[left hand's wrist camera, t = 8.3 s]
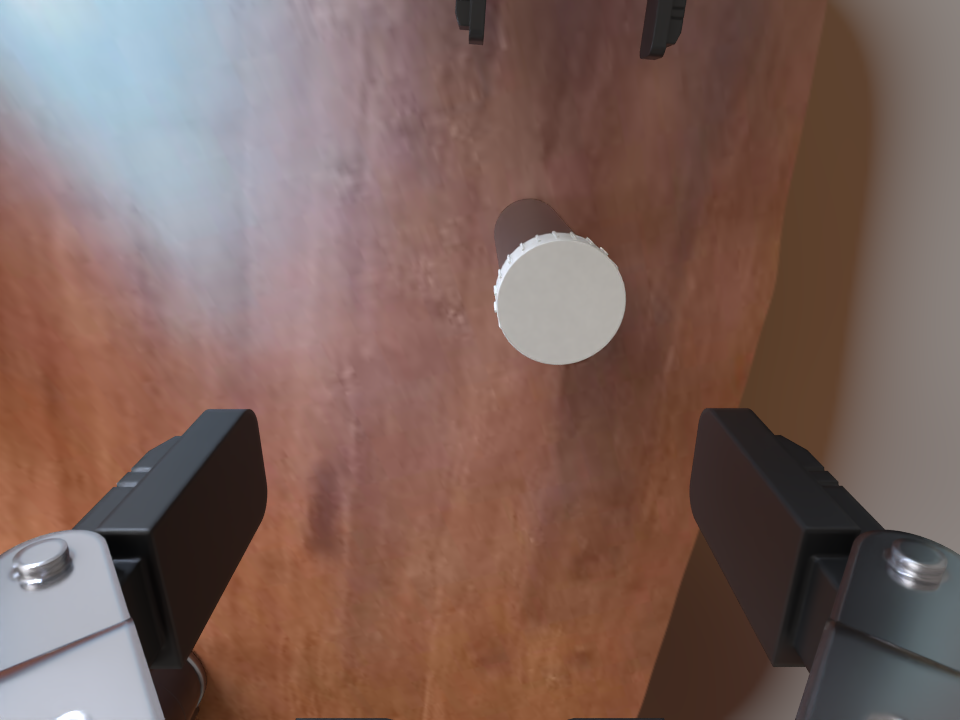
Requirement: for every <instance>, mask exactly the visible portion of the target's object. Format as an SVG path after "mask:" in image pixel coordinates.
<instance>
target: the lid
mask: <svg viewBox="0 0 960 720" xmlns="http://www.w3.org/2000/svg"><path fill="white" fill-rule="evenodd" d="M535 236H536V237H535V238H532V239H530V240H528V241H527V242H525V243H523V244H522V243H520V246H519V247H518V248H517V249H516V250H515V251H514V252H513V253H512V254H511V255H508V256H507V260H506V261H505V263H504V265H503V266H502V268H501V270H500V269H499V270H498V274H499V276H498V279H497V283H496V286H494V294H495V299H496V302H494V309H495V312H497V316H498V321H499V327H500V328H501V329H502V331H503V333H504V335H505V337H506V338H507V339H508V341H509V342H510V343H511V345H512V346H513V347H514V348H515V349H517V350H518V351H519V352H520V353H522V354H523V355H525V356H527V357H528V358H530V359H533V360H535V361H538V362H541V363H545V364H552V365H563V364H571V363H575V362H579V361H581V360H584V359H586V358H588V357H590V356H592V355H594V354H595V353H597V352H598V351H600V350H601V349H602V348H603V347H605V346H606V345H607V344H608V342H609V341H610V340H611V339H612V338H613V336H614V335H615V334H616V332H617V330H618V328H619V326H620V324H621V322H622V319H623V316H624V312H625V305H626V292H625V287H624V282H623V280H622V277H621V275H620V273H619V271H618V269H619V268H618V266H617V265H616V264H615V263H614V262H613V261H612V260H610V259H609V258H608V256H607V255H608V253H607V252H606V251H605V250H604V249H603V248H602V247H600V248H599V247H597V246H596V245H595V244H594V243H593V242H592V241H591V240H590V239H589V238H588V237H587V238H586V239H585V238H583V237H580V236H577V235H575V234H574V233H573V232H570V234H569V233H556V231H553V233H549V234H544V235H540V236H538V235H535Z"/></svg>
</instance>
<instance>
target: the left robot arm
mask: <svg viewBox="0 0 960 720" xmlns="http://www.w3.org/2000/svg"><path fill="white" fill-rule="evenodd" d="M266 503H267V482H266V475H265V469H264V462H263V455H262V448H261V441H260V435H259V428H258V422H257V418H256V415H255V413H254V412H253V411H252V410H251V409H208V410H206V411H204V412H203V413H202V415H201V416H200V417H199V418H198V419H197V420H196V421H195V422H194V423H193V424H192V425H191V426H190V427H189V428H188V430H187V431H186V432H185V433H184V434H183V435H182V436H175V437H173V438H171V439H170V440H168V441H166V442H164V443H162V444H161V445H159V446H157V447H155V448H154V449H152V450H150V451H148V452H147V453H146V454H145V455H144V457H143V458H142V459H141V460H140V461H139V462H138V463H137V464H136V465H135V466H134V467H133V468H132V471H131V472H128V473H127V474H126V475H125V476H124V477H123V478H122V479H121V480H120V481H119V482H118V483H117V487H113V488H112V489H111V490H110V491H109V492H108V493H107V494H106V495H105V496H104V497H103V498H102V499H101V500H100V501H99V502H98V503H97V504H96V505H95V506H94V507H93V508H92V509H91V510H90V511H89V512H88V513H87V514H86V515H85V516H84V517H83V518H82V519H81V520H80V521H79V522H78V523H77V524H76V526H75V527H74V528H73V529H72V530H66V531H59V532H54V533H49V534H46V535H42V536H39V537H36V538H33V539H31V540H28V541H26V542H23V543H21V544H19V545H17V546H15V547H13V548H11V549H9V550H7V551H6V552H4V553H3V554H1V555H0V720H195V718H196V716H197V714H198V712H199V707H198V704H199V703H200V701H201V699H202V697H203V695H204V692H205V689H206V674H205V671H204V668H203V666H202V664H201V663H200V661H199V660H198V658H197V657H196V656H195V655H194V654H193V653H192V652H191V651H192V650H193V648H194V646H195V644H196V642H197V640H198V638H199V637H200V635H201V633H202V631H203V629H204V627H205V625H206V624H207V622H208V620H209V618H210V616H211V614H212V612H213V611H214V609H215V607H216V605H217V603H218V601H219V599H220V598H221V596H222V594H223V592H224V590H225V588H226V586H227V585H228V583H229V581H230V579H231V577H232V575H233V573H234V572H235V570H236V568H237V566H238V564H239V562H240V560H241V559H242V557H243V555H244V553H245V551H246V549H247V547H248V546H249V544H250V542H251V540H252V538H253V536H254V534H255V532H256V531H257V529H258V527H259V525H260V523H261V521H262V519H263V516H264V513H265V509H266ZM690 504H691V509H692V513H693V516H694V519H695V521H696V523H697V524H698V526H699V528H700V530H701V532H702V534H703V536H704V538H705V540H706V541H707V543H708V545H709V547H710V549H711V551H712V553H713V555H714V556H715V558H716V560H717V562H718V564H719V566H720V568H721V569H722V572H723V573H724V575H725V577H726V579H727V581H728V583H729V585H730V587H731V588H732V590H733V592H734V594H735V596H736V598H737V600H738V602H739V604H740V605H741V607H742V609H743V611H744V613H745V615H746V617H747V618H748V620H749V622H750V624H751V626H752V628H753V630H754V632H755V634H756V636H757V637H758V639H759V641H760V643H761V645H762V647H763V649H764V651H765V652H766V654H767V656H768V658H769V660H770V662H771V664H772V666H773V667H806V668H807V670H808V671H809V673H810V675H809V678H808V681H807V684H806V687H805V690H804V693H803V696H802V700H801V703H800V706H799V709H798V712H797V715H796V719H795V720H960V555H959V554H957V553H956V552H954V551H953V550H951V549H949V548H947V547H945V546H943V545H941V544H939V543H937V542H934V541H932V540H929V539H927V538H924V537H921V536H918V535H914V534H910V533H906V532H901V531H894V530H885V529H884V528H883V527H882V526H881V525H880V524H879V523H878V522H877V521H876V520H875V519H874V518H873V517H872V516H871V515H870V514H869V513H868V512H867V511H866V510H865V509H864V508H863V507H862V506H861V505H860V504H859V503H858V502H857V501H856V500H855V499H854V498H853V497H852V495H851V494H850V493H849V492H848V491H847V490H846V489H845V488H844V487H843V486H839V485H838V481H837V480H836V479H835V478H834V477H833V476H832V475H831V474H830V473H829V472H828V471H824V467H823V466H822V465H821V464H820V463H819V462H818V461H817V460H816V459H815V458H814V457H813V456H812V455H811V453H810V452H809V451H808V450H806V449H804V448H803V447H801V446H799V445H797V444H795V443H794V442H792V441H790V440H788V439H787V438H785V437H783V436H781V435H774V434H773V433H772V432H771V431H770V430H769V429H768V427H767V426H766V425H765V424H764V423H763V422H762V421H761V420H760V419H759V418H758V417H757V416H756V414H755V413H754V412H753V411H752V410H750V409H748V408H706V409H704V410H703V412H702V413H701V416H700V419H699V424H698V431H697V438H696V445H695V452H694V459H693V466H692V473H691V480H690ZM296 720H391V719H387V718H296ZM569 720H664V718H573V719H569Z"/></svg>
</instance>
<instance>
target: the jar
mask: <svg viewBox="0 0 960 720" xmlns="http://www.w3.org/2000/svg"><path fill="white" fill-rule="evenodd" d="M553 231H556V233H569V234H570V232H573V231H572V230H571V229H570V228H569V227H568V226H567V224H566V223H565V222H564V221H563V220H562V219H561V218H560V216H559V215H558V214H557V213H556V212H555V211H554V210H553V209H552V208H551V207H550V206H549V205H548V204H546V203H544V202H542V201H539V200H535V199H523V200H519V201H516V202H514V203H512V204H510V205H509V206H508V207H506V208H505V209H504V210H503V212H502V213H501V214H500V216H499V217H498V219H497V222H496V225H495V230H494V238H495V245H496V251H497V257H498V264H499V269H500V270H501V268H502V266H503V265H504V263H505V261H506V260H507V256H508V255H511V254H512V253H513V252H514V251H515V250H516V249H517V248H518V247H519V246H520V243H522V244H523V243H525V242H527V241H528V240H530V239H532V238H535V237H536V236H535V235H538V236H540V235H544V234H549V233H553ZM573 233H574V232H573Z"/></svg>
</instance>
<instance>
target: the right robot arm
mask: <svg viewBox="0 0 960 720" xmlns="http://www.w3.org/2000/svg"><path fill="white" fill-rule="evenodd" d="M685 6H686V0H647V7H646V14H645V21H644V27H643V34H642V41H641V48H640V58H641V59H651V60H656V59H659V58H661V57H663V55H664V53H665V49H666V47H669V46H671V45H674V44H675V43H676V41H677V39H678V37H679V35H680V34H681V30H682V24H683V17H684V12H685ZM485 9H486V0H456V10H455V14H456V18H457V22H458V25H459V29H460V30H469V44H477V45H483V39H484V24H485Z"/></svg>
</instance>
